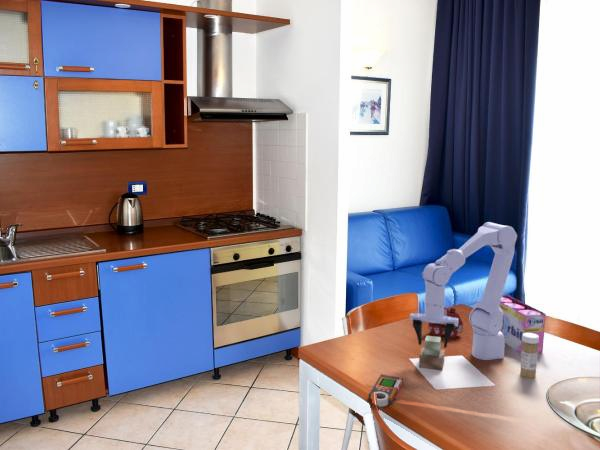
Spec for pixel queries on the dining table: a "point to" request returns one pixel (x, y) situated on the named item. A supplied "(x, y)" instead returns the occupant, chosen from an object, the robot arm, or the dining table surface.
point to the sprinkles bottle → (529, 355)
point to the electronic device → (386, 389)
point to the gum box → (521, 322)
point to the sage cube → (432, 345)
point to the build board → (454, 374)
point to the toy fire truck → (440, 328)
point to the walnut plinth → (431, 360)
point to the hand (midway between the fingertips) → (432, 345)
